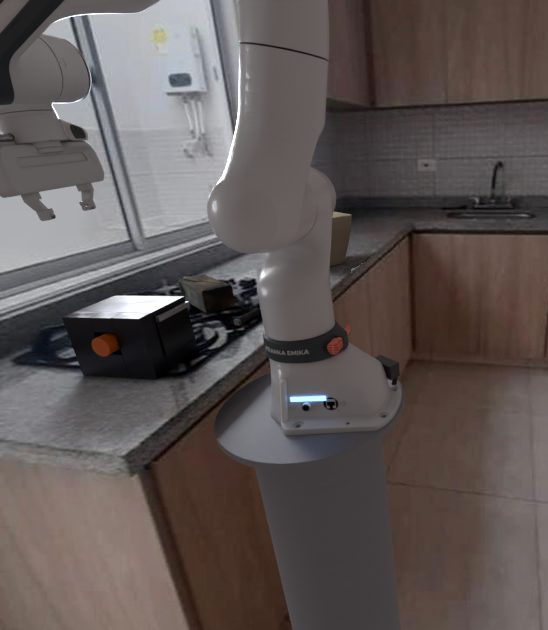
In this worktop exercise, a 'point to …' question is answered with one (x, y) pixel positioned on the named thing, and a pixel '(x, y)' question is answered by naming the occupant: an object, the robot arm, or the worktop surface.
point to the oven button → (105, 344)
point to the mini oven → (133, 335)
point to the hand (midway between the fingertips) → (70, 214)
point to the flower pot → (340, 237)
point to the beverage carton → (206, 293)
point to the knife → (247, 316)
